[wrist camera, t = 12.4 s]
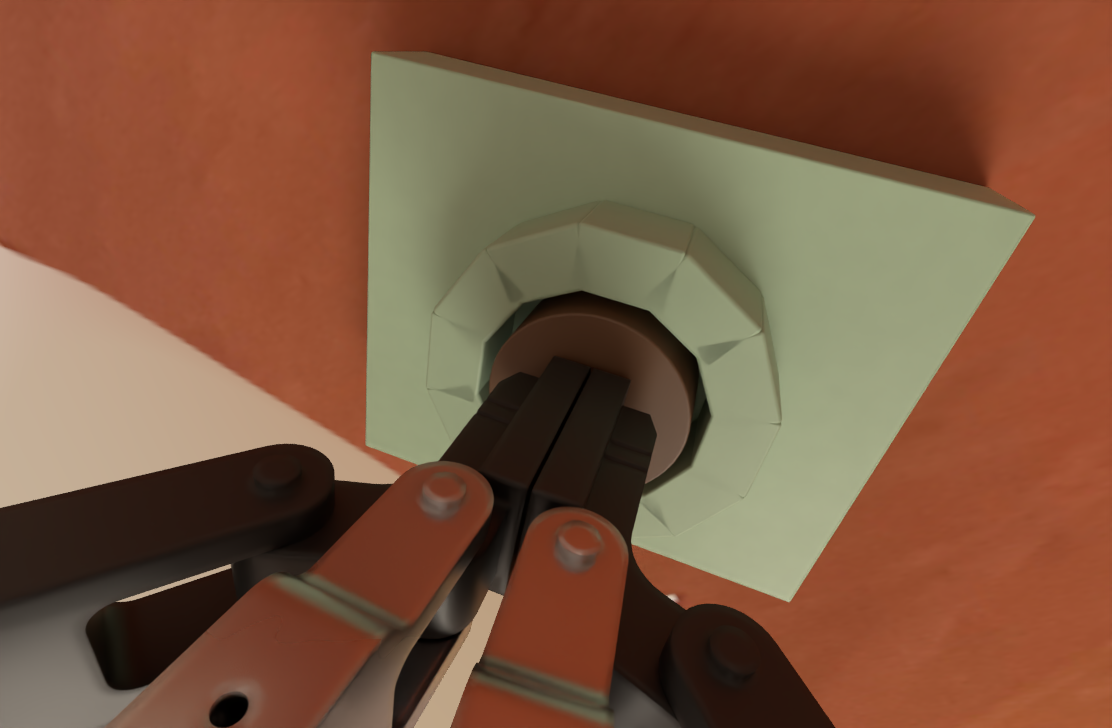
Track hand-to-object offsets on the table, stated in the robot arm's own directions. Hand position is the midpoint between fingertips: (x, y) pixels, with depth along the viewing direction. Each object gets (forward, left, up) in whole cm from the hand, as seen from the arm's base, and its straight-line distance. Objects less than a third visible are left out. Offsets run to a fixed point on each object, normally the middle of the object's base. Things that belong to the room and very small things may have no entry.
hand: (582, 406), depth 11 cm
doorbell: (0, 0, -4) cm, 4 cm away
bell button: (0, 0, -2) cm, 2 cm away
